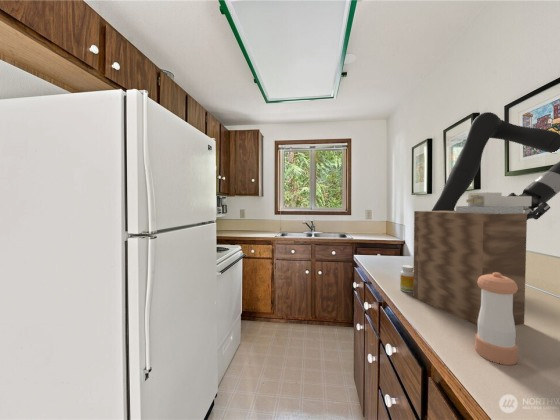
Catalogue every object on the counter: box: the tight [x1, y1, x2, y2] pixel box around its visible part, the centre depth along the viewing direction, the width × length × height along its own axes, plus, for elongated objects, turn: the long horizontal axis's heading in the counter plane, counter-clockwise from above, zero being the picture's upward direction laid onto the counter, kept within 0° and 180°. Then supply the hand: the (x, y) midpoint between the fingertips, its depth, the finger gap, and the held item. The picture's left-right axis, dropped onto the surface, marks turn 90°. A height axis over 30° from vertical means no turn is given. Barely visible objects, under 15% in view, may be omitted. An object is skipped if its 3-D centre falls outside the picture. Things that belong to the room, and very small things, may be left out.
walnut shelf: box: [412, 210, 528, 327], centre depth 82 cm, size 26×14×32 cm, turn 16°
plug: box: [465, 191, 532, 206], centre depth 76 cm, size 5×22×4 cm, turn 106°
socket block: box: [455, 205, 525, 214], centre depth 75 cm, size 11×12×2 cm
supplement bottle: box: [399, 264, 414, 294], centre depth 99 cm, size 5×5×10 cm
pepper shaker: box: [474, 272, 518, 366], centre depth 57 cm, size 7×7×19 cm
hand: (505, 219), depth 93 cm, fingers open, 8 cm apart
